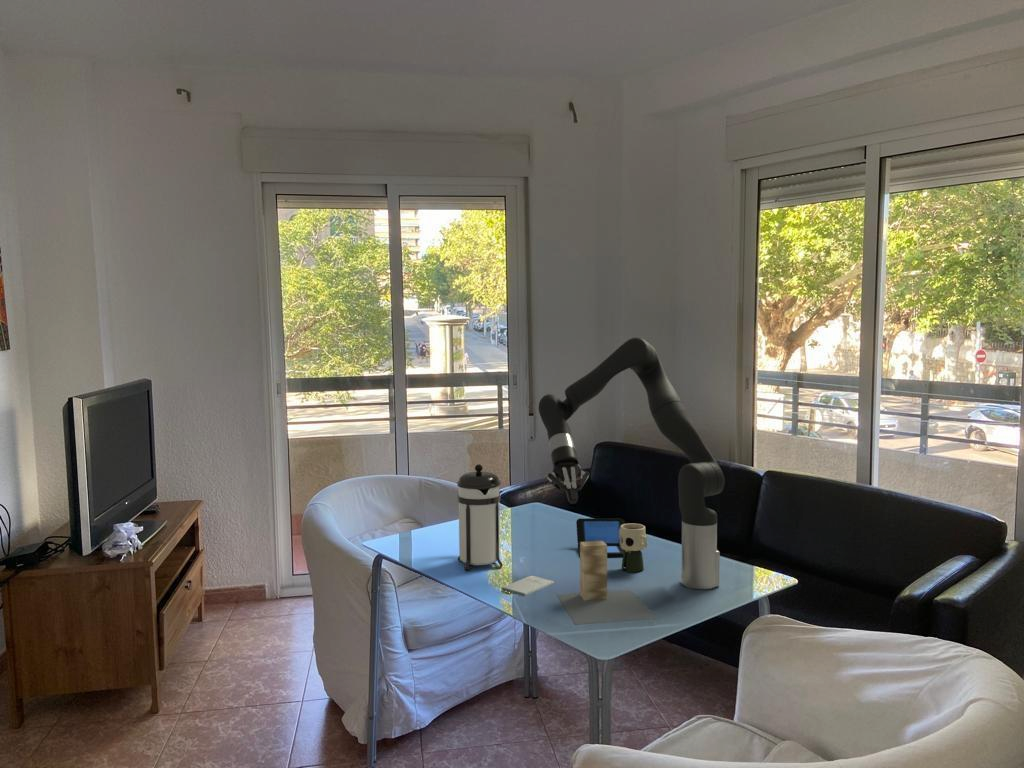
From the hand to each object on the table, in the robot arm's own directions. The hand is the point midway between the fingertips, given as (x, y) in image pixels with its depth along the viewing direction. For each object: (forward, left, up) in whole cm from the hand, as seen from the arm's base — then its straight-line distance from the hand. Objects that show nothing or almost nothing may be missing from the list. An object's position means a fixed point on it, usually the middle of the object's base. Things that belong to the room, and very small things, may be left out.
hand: (573, 502), depth 209 cm
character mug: (-17, +1, -21) cm, 27 cm away
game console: (-14, -19, -21) cm, 32 cm away
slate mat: (-1, +27, -21) cm, 34 cm away
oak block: (0, +20, -20) cm, 29 cm away
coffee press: (+26, -14, -21) cm, 36 cm away
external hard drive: (+15, +9, -21) cm, 28 cm away
